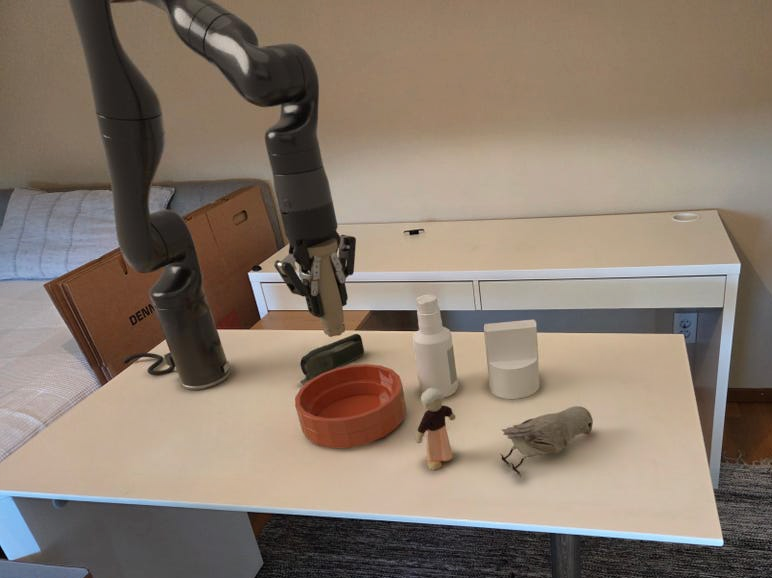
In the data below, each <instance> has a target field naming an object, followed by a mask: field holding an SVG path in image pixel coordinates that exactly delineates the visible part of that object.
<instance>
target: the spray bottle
mask: <svg viewBox="0 0 772 578" xmlns="http://www.w3.org/2000/svg"><path fill="white" fill-rule="evenodd" d="M416 306H417V310H416V314H417V321H418V322H417V324H418V330H417V331H415V332H414V334H413V335H412V346H413V351H414V358H415V365H416V370H417V377H418V384H419V389H420V393H421V394H422V393H423V392H425V391H426V390H427V389H429V388H436V389H439V390H440V391H442V393H443V395H444V397H443V399H445V398H448V397H450V396H453V395H454V394H455V393H456V392H457V390H458V388H459V383H458V374H457V367H456V366H457V365H456V359H455V352H454V351H455V350H454V343H453V334H452V332H451V330H450V329H449V328H447V327H446V326H444V325H443V321H442V315H441V308H440V307H439V303H438V297H437V295H435V294H430V293H429V294H423V295H420V296H418V297H416Z"/></svg>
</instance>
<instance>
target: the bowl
mask: <svg viewBox="0 0 772 578" xmlns="http://www.w3.org/2000/svg"><path fill="white" fill-rule="evenodd" d="M294 404H295V410H296V413H297V417H298V421H299V425H300V428H301V432H302V433H303V435H304V437H306V439H307V440H308V441H309V442H311V443H313V444H315V445H316V446H317V445H318V446H319V447H320V446H321V447H326V448H333V449H340V448H341V449H343V448H353V447H358V446H362V445H366V444H370V443H372V442H374V441H376V440H379V439H381V438H384V437H386V436H387V435H389V434H390V433H392V432H393V431H394V430H396V429H397V428H398V427H399V425H400V424H401V423H402V422H403V420H404V419H405V416H406V412H407V405H406V397H405V393H404V387H403V383H402V379H401V376H400V375H399V374H398V373H397V372H396V371H394V369H392V368H389V367H387V366H383V365H378V364H370V363H365V364H364V363H362V364H361V363H360V364H350V365H344V366H341V367H338V368H336V369H333V370H330V371H327V372H325V373H322V374H320V375H319V376H317V377H315V378H313V379H311V380H309V381H307V382H305V383H304V385H303V386H302V387H300V389H299V390H298V392H297V394H296V395H295V398H294Z"/></svg>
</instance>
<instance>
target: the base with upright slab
mask: <svg viewBox="0 0 772 578" xmlns="http://www.w3.org/2000/svg"><path fill="white" fill-rule="evenodd" d="M483 335H484V345H485V355H486V364H487V365H486V366H487V375H488V387H489V391H490V392H491V393H492V395H494V396H496V397H498V398H501V399H505V400H506V399H507V400H518V399H524V398H528V397H530V396H532V395H534V394H535V393H536V392H537V391H538V390H539V388H540V367H539V366H540V365H539V364H540V363H539V347H538V328H537V321H536V319H526V320H525V319H524V320H515V321H503V322H502V321H501V322H492V323H491V322H490V323H484V326H483Z"/></svg>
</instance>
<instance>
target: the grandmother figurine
mask: <svg viewBox="0 0 772 578" xmlns="http://www.w3.org/2000/svg"><path fill="white" fill-rule="evenodd" d="M443 397H444V395H443V393H442V391H440V390H439V389H436V388H429V389H427V390H426V391H425V392H423V393H422V392H421V396H420V402H421V404H422V405H423V407H425V409H426V411H425V412H424V414H423V416H422V418H421V421H420V423H419V425H418V427H417V432H416V437H415V440H414V441H415V443H417V444H421V443H422V442H423V438H424V437H425V433H426V444H425V447H426V458H427V460H426V465H427V467H428V468H429V469H430V470H432V471H437V470H439V469H441V468H442V466H443V463H442V462H445V463H446V462H450V461H451V460H453V459H454V455H453V451H452V446H451V443H450V439H449V435H448V431H447V423H446V418H448V420H449V421H455V420H456V418H457V417H456V414H455V413H454V412H453V409H452V408H451V407H449V406H448V405H444V404H443V399H444V398H443Z"/></svg>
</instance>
